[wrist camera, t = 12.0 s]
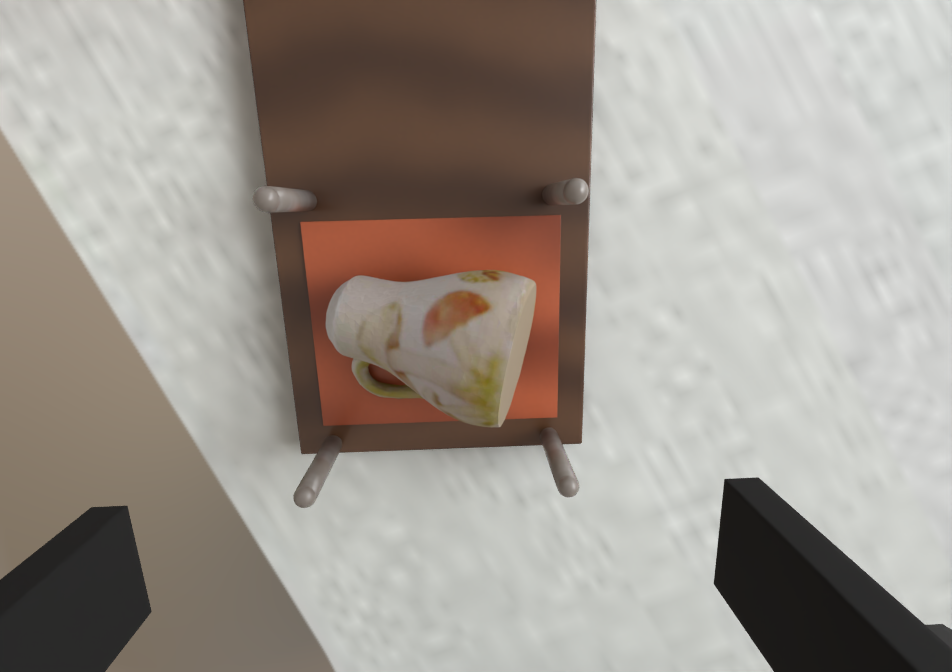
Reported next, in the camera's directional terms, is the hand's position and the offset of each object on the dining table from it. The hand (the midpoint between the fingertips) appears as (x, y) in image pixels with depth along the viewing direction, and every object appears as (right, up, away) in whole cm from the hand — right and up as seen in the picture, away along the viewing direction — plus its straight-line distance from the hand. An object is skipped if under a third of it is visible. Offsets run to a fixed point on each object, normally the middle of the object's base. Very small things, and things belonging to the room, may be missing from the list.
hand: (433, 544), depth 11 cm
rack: (-1, +12, +15) cm, 19 cm away
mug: (-1, +5, +15) cm, 16 cm away
